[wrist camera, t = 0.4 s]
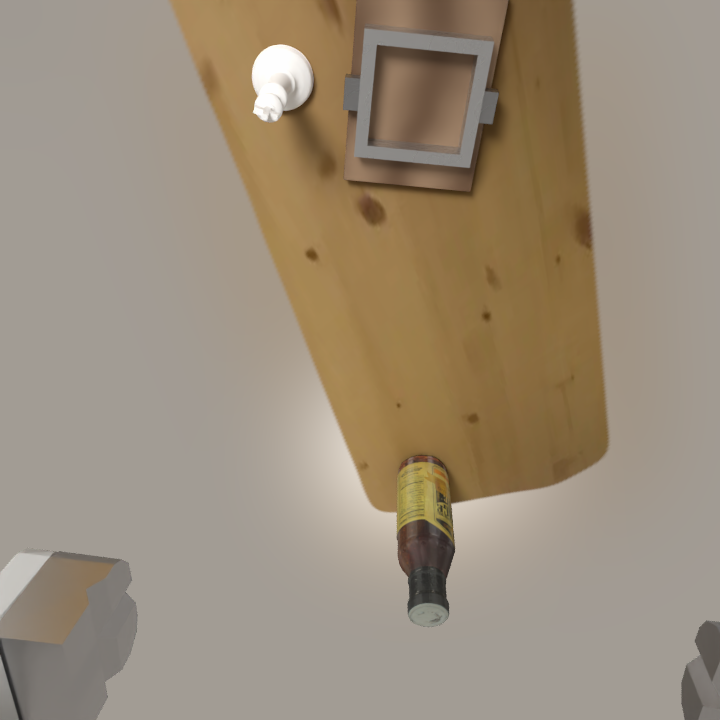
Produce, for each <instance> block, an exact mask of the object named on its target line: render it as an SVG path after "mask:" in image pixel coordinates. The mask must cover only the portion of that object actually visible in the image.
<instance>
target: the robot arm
mask: <svg viewBox="0 0 720 720" xmlns="http://www.w3.org/2000/svg"><path fill="white" fill-rule="evenodd" d="M131 581H132V577H131V573H130V568H129V563H128V562H126V561H124V560H121V559H114V558H106V557H98V556H91V555H83V554H76V553H68V552H61V551H59V552H54V551H48V550H40V549H33V548H26V549H24V550H23V551H20V552H18V553H17V554H16V555H15V556H14V557H13V558H12V560H11V561H10V562H9V563H8V564H7V565H6V567H5V568H4V569H3V570H2V571H1V572H0V720H96V718H97V716H98V715H99V713H100V711H101V709H102V707H103V705H104V703H105V701H106V699H107V698H108V696H107V691H106V685H105V681H106V680H108V679H109V678H111V677H112V676H114V675H115V674H116V673H118V672H119V671H121V670H122V669H123V667H124V665H125V663H126V661H127V659H128V657H129V655H130V653H131V650H132V646H133V642H134V639H135V635H136V632H137V608H136V603H135V602H134V601H133V599H132V598H131V597H130V596H129V595H128V594H127V593H126V592H125V591H126V590H127V588H128V586H129V584H130V583H131ZM695 643H696V645H697V647H698V650H699V652H700V656H698V657H697V658H695V659H694V660H692V661H691V662H689V663H688V664H687V665H686V668H685V672H684V675H683V679H682V708H683V713H684V718H685V720H720V622H715V621H706V622H704V623H703V624H702V626H700V627H699V630H698V633H697V636H696V639H695Z"/></svg>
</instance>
